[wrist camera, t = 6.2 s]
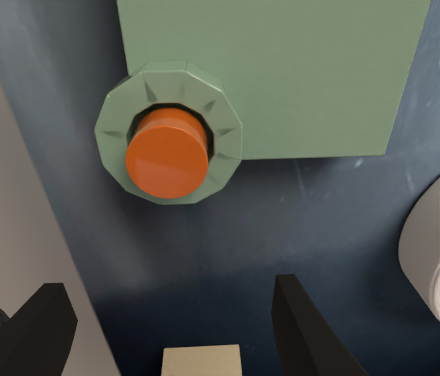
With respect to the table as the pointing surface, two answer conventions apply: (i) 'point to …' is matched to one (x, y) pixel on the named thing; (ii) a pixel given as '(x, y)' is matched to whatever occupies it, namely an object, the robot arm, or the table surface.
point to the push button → (168, 153)
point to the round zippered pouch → (423, 247)
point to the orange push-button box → (262, 78)
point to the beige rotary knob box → (202, 361)
